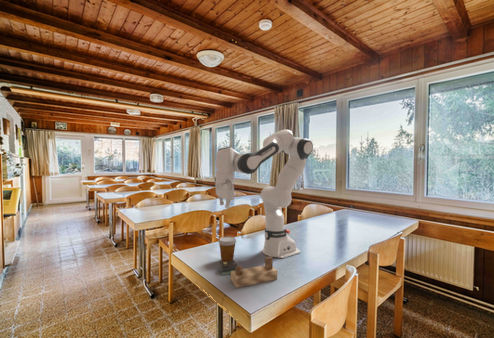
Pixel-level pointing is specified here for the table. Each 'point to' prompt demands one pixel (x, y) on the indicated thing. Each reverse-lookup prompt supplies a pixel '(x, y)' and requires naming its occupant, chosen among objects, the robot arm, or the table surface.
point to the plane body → (253, 274)
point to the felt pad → (225, 272)
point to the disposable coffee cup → (227, 248)
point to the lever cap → (227, 266)
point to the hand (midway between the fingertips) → (224, 206)
